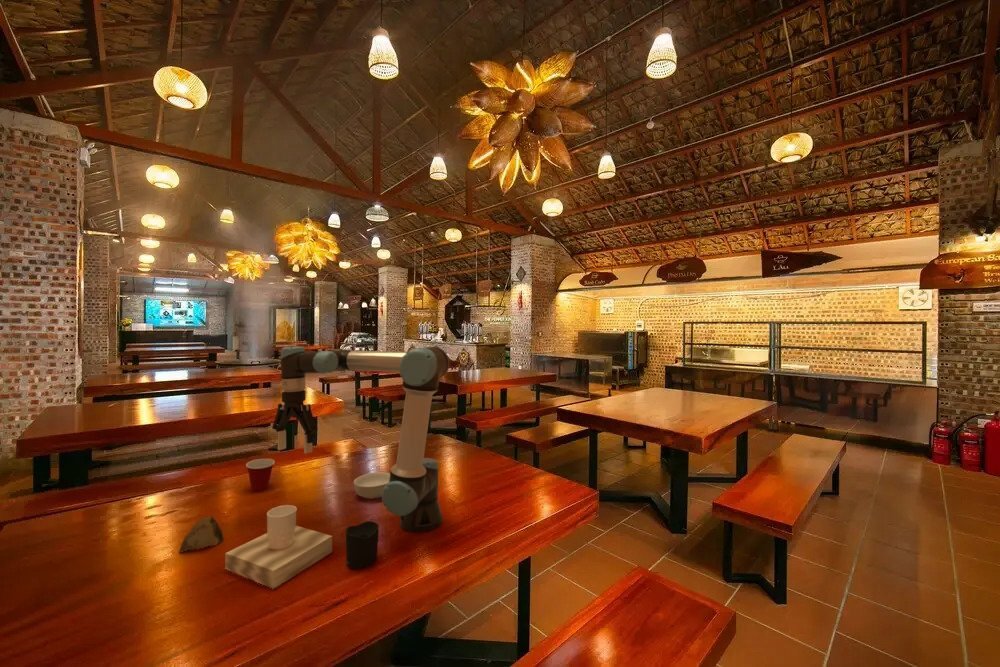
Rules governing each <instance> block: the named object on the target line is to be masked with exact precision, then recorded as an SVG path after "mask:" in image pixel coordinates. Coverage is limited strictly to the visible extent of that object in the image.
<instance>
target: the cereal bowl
mask: <svg viewBox="0 0 1000 667" xmlns="http://www.w3.org/2000/svg"><path fill="white" fill-rule="evenodd" d="M389 479H390V473H389V472H381V471H380V472H369V473H366V474H362V475H359V476H357V478H355V479H354V480H353V489H354V491H355V493H356V494H357V495H358V496H360V497H362V498H366V497H367V498H366V499H368V498H377V499H379V498H378V497H380V498H382V491H383V489H384V487H385V485H386V484H388V483H389Z"/></svg>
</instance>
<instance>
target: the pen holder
mask: <svg viewBox="0 0 1000 667" xmlns="http://www.w3.org/2000/svg"><path fill="white" fill-rule="evenodd" d="M379 528H380V527H379V524H378V523H377V522H376V521H371V520H367V521H363V522H362V523H360V524H357V525H350V526H348V527H346V529H345V555H346V560H345V561H346V565H347V567H348V568H349V569H351V570H363V569H367V568H369V567H371V566H373V565H374V564H375V563H376V561H377V559H378V551H379V550H378V547H379Z"/></svg>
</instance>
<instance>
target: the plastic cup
mask: <svg viewBox="0 0 1000 667" xmlns="http://www.w3.org/2000/svg"><path fill="white" fill-rule="evenodd" d="M275 462H276V461H275V459H272V458H258V459H253V460H250V461H248V462H246V464H245V466H246V468H247V472H248V477H249V484H250V488H251V491H252V492H253V493H261V492H264V491H266V490H268V487H269V484H270V480H271V475H272V470H273V466H274V464H275Z"/></svg>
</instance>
